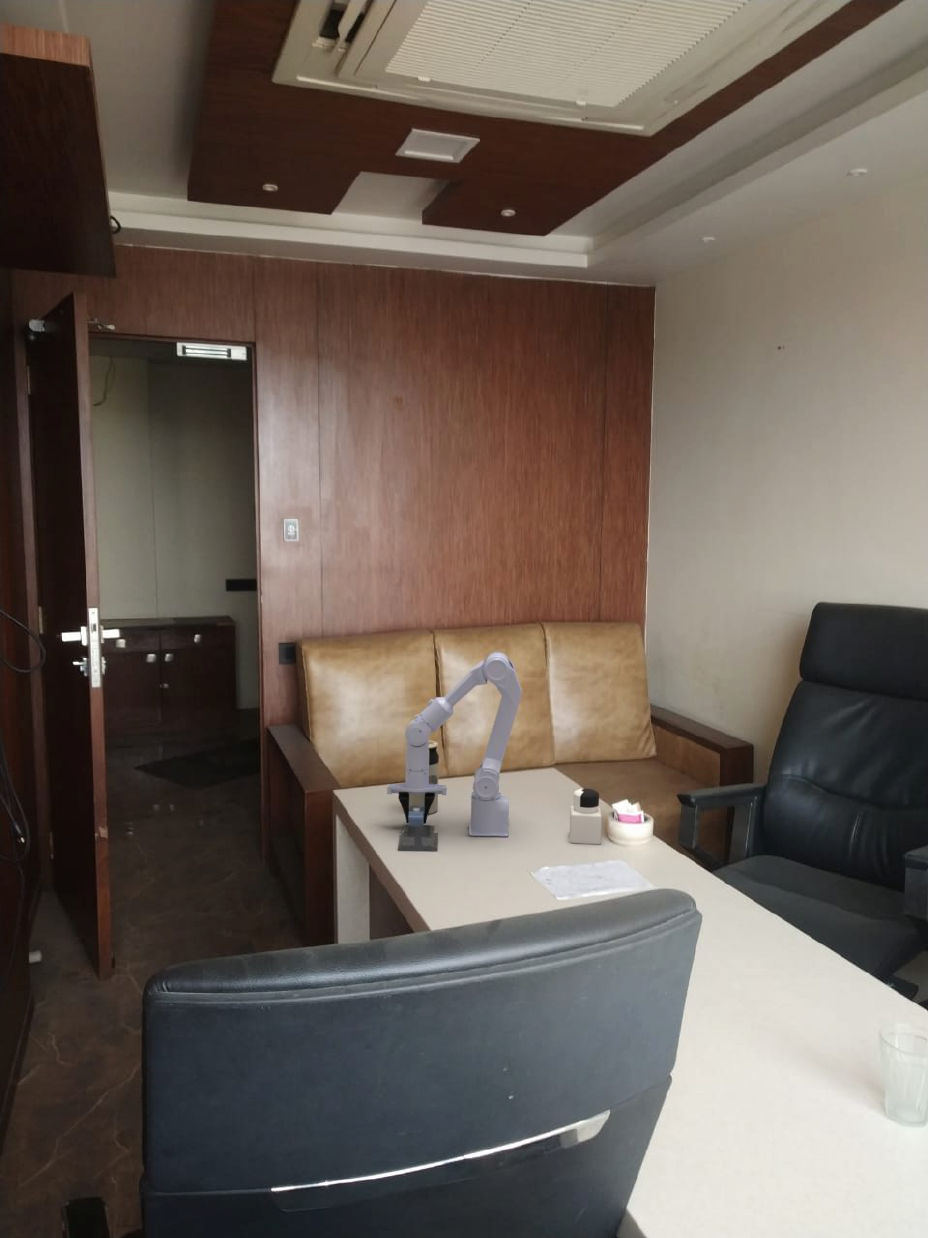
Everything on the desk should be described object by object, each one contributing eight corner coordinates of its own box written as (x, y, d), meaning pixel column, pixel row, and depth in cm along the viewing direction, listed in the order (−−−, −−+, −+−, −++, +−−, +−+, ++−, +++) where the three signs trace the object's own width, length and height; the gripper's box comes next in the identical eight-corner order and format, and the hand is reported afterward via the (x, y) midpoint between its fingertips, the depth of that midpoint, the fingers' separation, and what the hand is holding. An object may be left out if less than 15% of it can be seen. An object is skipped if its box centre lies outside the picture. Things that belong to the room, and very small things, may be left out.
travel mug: (402, 807, 232) (403, 741, 230) (430, 804, 236) (431, 738, 234) (414, 816, 225) (415, 748, 223) (442, 813, 228) (443, 745, 227)
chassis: (438, 836, 212) (438, 824, 211) (437, 851, 202) (437, 839, 201) (400, 835, 211) (401, 824, 211) (398, 850, 201) (398, 838, 201)
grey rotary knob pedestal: (598, 834, 215) (600, 787, 214) (600, 845, 208) (602, 796, 207) (569, 833, 216) (571, 785, 215) (570, 843, 209) (572, 794, 207)
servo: (424, 823, 220) (424, 801, 219) (422, 834, 213) (423, 810, 212) (409, 823, 220) (410, 801, 219) (408, 833, 213) (408, 810, 212)
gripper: (447, 764, 219) (445, 817, 220) (389, 763, 219) (388, 816, 220) (446, 772, 212) (445, 827, 213) (386, 771, 212) (386, 825, 213)
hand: (416, 822), depth 216 cm, fingers closed on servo, 4 cm apart
